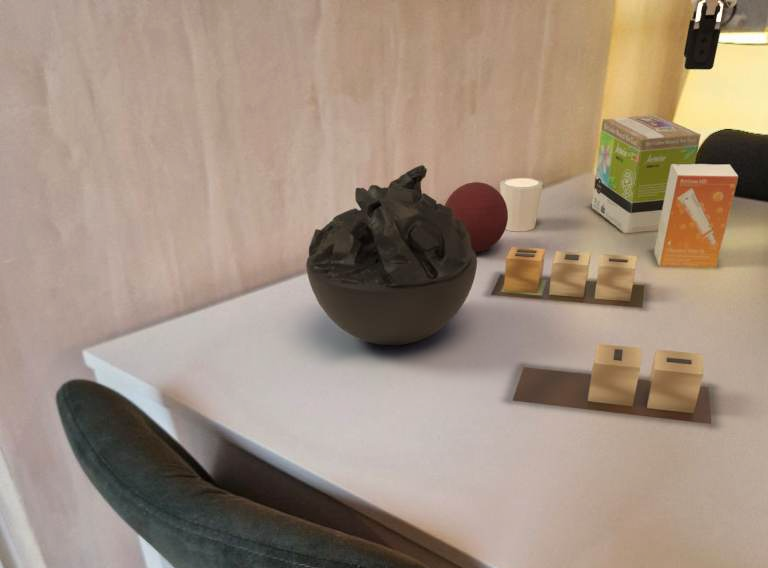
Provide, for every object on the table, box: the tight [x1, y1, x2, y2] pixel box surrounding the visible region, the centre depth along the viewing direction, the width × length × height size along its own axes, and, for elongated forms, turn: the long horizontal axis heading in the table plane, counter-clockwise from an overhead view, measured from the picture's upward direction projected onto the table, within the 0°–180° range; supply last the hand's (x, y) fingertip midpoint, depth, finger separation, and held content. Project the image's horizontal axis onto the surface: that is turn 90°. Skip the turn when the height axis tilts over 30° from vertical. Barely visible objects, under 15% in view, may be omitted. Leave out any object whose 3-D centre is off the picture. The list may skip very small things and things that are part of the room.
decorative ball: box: [444, 181, 508, 253], centre depth 116 cm, size 10×10×10 cm
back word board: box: [490, 250, 645, 309], centre depth 103 cm, size 20×8×5 cm, turn 73°
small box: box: [653, 163, 739, 268], centre depth 109 cm, size 8×6×13 cm
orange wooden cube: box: [504, 246, 546, 293], centre depth 104 cm, size 5×5×5 cm
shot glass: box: [499, 177, 544, 232], centre depth 126 cm, size 7×7×7 cm
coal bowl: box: [305, 164, 478, 346], centre depth 89 cm, size 20×20×19 cm
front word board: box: [512, 343, 712, 425], centre depth 80 cm, size 20×8×5 cm, turn 73°
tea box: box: [591, 114, 702, 234], centre depth 124 cm, size 15×10×15 cm, turn 10°
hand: (697, 62), depth 94 cm, fingers open, 9 cm apart
